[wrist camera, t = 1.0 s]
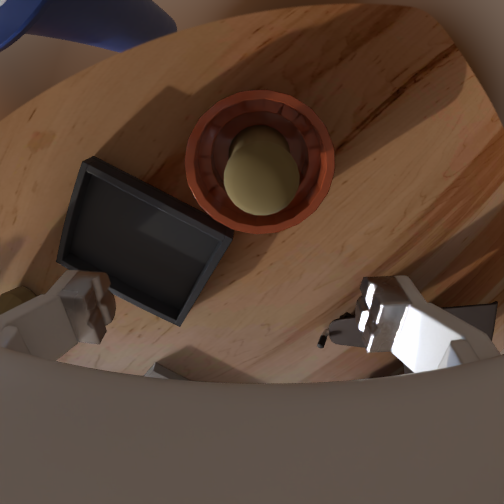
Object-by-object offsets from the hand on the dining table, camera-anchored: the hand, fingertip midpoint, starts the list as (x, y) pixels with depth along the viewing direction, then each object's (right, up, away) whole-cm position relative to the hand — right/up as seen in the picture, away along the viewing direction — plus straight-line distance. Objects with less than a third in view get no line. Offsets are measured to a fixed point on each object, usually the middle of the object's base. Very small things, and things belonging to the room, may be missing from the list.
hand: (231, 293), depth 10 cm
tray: (-12, +2, +25) cm, 28 cm away
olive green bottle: (+1, +11, +20) cm, 23 cm away
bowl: (+1, +11, +20) cm, 23 cm away
